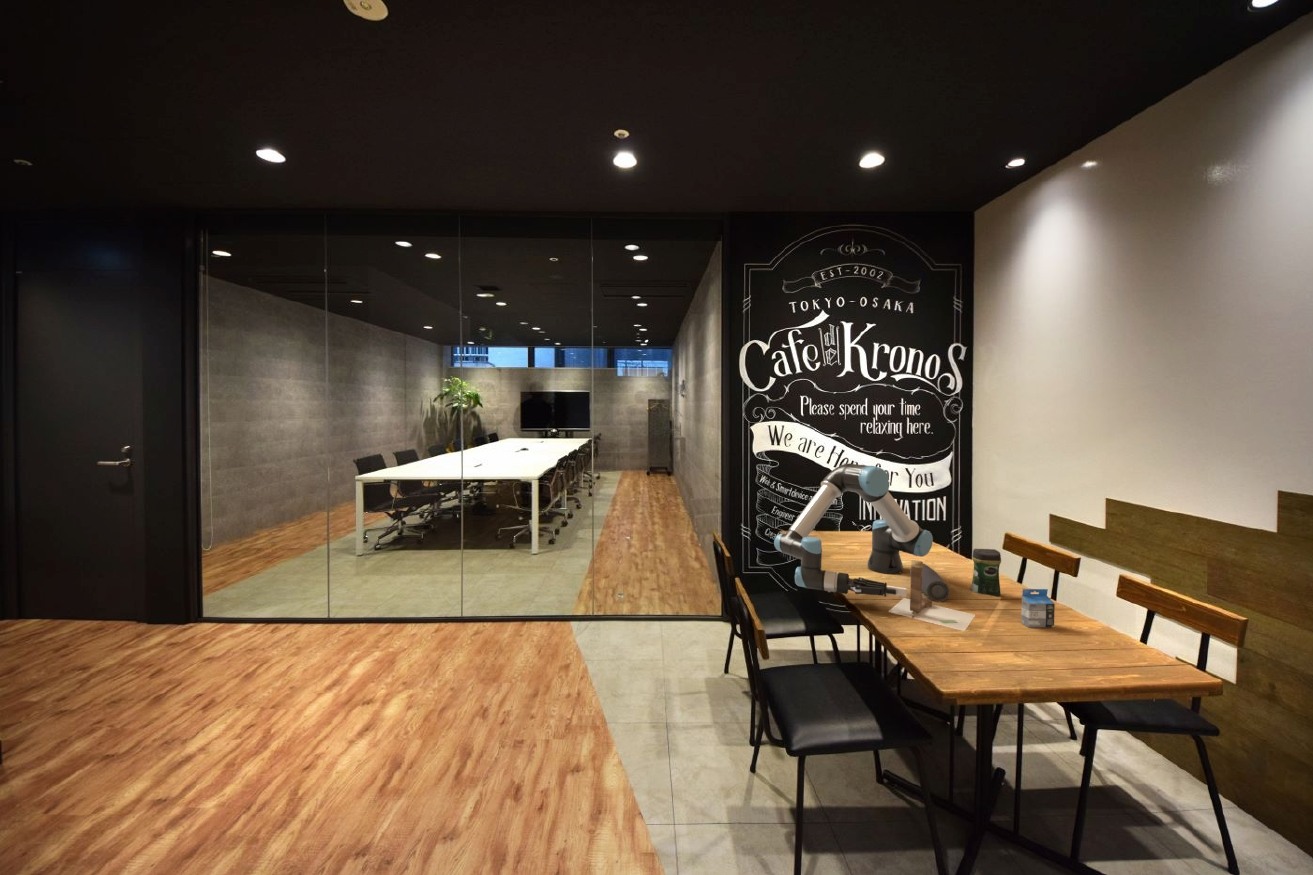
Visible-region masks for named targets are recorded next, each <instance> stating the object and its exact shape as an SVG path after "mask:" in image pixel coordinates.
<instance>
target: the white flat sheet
mask: <svg viewBox="0 0 1313 875" xmlns="http://www.w3.org/2000/svg"><path fill="white" fill-rule="evenodd" d="M912 612H913V611H910V598H907V597H903V598H902V599H901V600H900V601H899V602H897V603H896V604H895V605H894V606H893V607H892V608H891V609H889V610H888V613H891V614H895V615H900V616H903V617H907V618H911V619H916V620H919V621H922V622H927V623H931V624H935V625H939V626H942V627H946V628H948V629H949V628H950V629H954V630H958V631H962V632H965V631H966V630H967V628H968V627H969V625H970V624H971V623H972V621H973V619H974V618H975V617H976V614H975V613H969V612H965V611H961V610H957V609H953V608H947V607H945V606H940V605H937V604H932V607H929V608H926V607H924V608H923V609H922V610H921V611H920V612H919V613H916V614H915V615H913V614H912Z"/></svg>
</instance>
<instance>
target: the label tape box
mask: <svg viewBox="0 0 1313 875" xmlns="http://www.w3.org/2000/svg"><path fill="white" fill-rule="evenodd" d="M1048 590H1049V589H1048V588H1022V591H1021V592H1022V593H1021V594H1022V595H1021V621H1020V622H1021V624H1022V625H1023V626H1025V627H1027V628H1055V607H1056V604H1055V602H1053V600H1051V598H1050V597H1049V596H1048Z"/></svg>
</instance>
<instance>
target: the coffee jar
mask: <svg viewBox="0 0 1313 875" xmlns="http://www.w3.org/2000/svg"><path fill="white" fill-rule="evenodd" d="M971 559H972V561H973V574H972V580H971V588H970V590H971V592H972V593H973V592H974V593H977V594H981V595H987V596H988V595H989V596H992V597H993V596H994V597H997V598H1000V597H1001V584H1000V583H1001V582H1000V565H1001V563H1002V555H1001V552H1000V551H998V550H997V549H993V548H992V549H991V548H973V550H972V555H971Z"/></svg>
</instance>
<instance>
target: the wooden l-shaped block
mask: <svg viewBox="0 0 1313 875" xmlns="http://www.w3.org/2000/svg"><path fill="white" fill-rule="evenodd" d="M923 564H924V562H923V561H922V560H919V559H918V560H916V559H913V560H911V567H910V570H911V575H910V594H909V596H910V598H909V599H910V611H913V612H912V614H913V615H915V614H916V613H919V612H920V611H921V610H922V609H923V608H924V607H926V608H929V607H932V605H933V600H931V599H930V598H929V597H923V592H922V578H923Z"/></svg>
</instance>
